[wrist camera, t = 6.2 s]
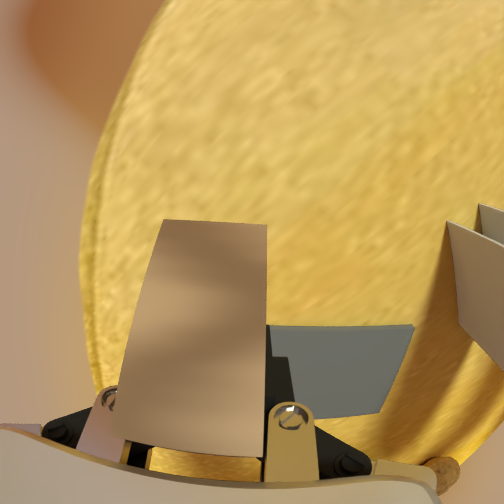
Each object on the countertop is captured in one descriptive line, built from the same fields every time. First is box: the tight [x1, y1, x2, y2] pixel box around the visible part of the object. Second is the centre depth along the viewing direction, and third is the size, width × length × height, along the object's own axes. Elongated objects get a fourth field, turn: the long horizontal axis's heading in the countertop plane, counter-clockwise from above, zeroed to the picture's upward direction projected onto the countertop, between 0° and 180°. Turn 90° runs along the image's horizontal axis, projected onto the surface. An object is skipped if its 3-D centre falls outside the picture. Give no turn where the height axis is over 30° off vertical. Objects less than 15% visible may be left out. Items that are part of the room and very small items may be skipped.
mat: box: [270, 324, 415, 419], centre depth 30 cm, size 18×14×1 cm
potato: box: [423, 457, 460, 496], centre depth 37 cm, size 10×14×10 cm
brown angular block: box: [110, 219, 267, 457], centre depth 10 cm, size 3×9×6 cm
